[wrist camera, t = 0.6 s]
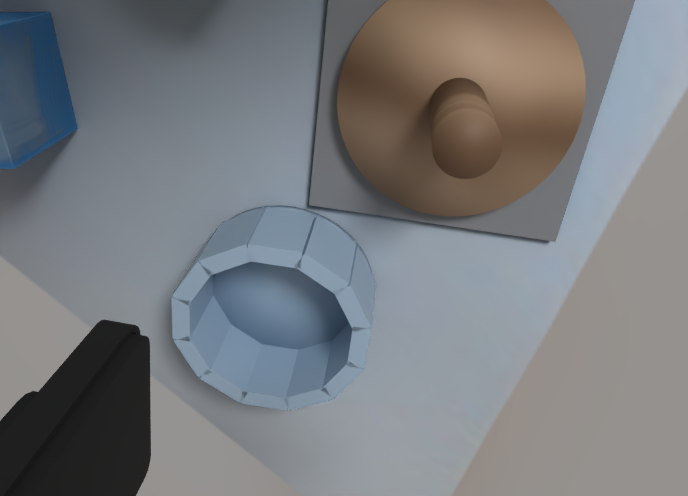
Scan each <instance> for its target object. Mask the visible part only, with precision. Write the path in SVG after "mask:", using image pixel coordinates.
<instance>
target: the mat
mask: <svg viewBox="0 0 688 496" xmlns="http://www.w3.org/2000/svg"><path fill="white" fill-rule="evenodd" d="M385 1H387V0H328V8H327V19H326V30H325V40H324V51H323V61H322V72H321V83H320V93H319V104H318V114H317V125H316V136H315V146H314V157H313V167H312V178H311V189H310V199H309V205H311V206H318V207H325V208H332V209H338V210H345V211H352V212H358V213H365V214H372V215H379V216H385V217H392V218H399V219H406V220H412V221H419V222H426V223H432V224H439V225H446V226H453V227H459V228H466V229H473V230H480V231H486V232H493V233H500V234H506V235H513V236H520V237H527V238H533V239H540V240H547V241H554V242H555V241H556V238H557V235H558V232H559V229H560V226H561V223H562V220H563V217H564V214H565V211H566V208H567V205H568V202H569V199H570V196H571V193H572V190H573V186H574V183H575V180H576V177H577V174H578V171H579V168H580V165H581V162H582V159H583V156H584V153H585V150H586V147H587V144H588V141H589V138H590V135H591V132H592V129H593V126H594V123H595V120H596V117H597V114H598V111H599V108H600V105H601V102H602V99H603V96H604V93H605V90H606V86H607V83H608V80H609V77H610V74H611V71H612V68H613V65H614V62H615V59H616V56H617V53H618V50H619V47H620V44H621V41H622V38H623V35H624V32H625V29H626V26H627V23H628V20H629V17H630V14H631V11H632V8H633V5H634V2H635V0H546V1H547V2H549V3H550V4H551V5H552V6H553V8H554V9H555V10H556V11H557V12H558V13H559V14H560V15H561V16H562V18H563V19H564V21H565V22H566V23H567V25H568V26H569V28H570V29H571V31H572V33H573V35H574V37H575V39H576V41H577V44H578V47H579V50H580V53H581V56H582V59H583V65H584V71H585V82H586V94H585V104H584V110H583V114H582V118H581V122H580V125H579V128H578V131H577V133H576V136H575V138H574V140H573V142H572V144H571V146H570V148H569V150H568V151H567V153H566V155H565V156H564V157H563V159H562V160H561V162H560V163H559V165H558V166H557V167H556V168H555V169H554V170H553V172H552V173H551V174H550V175H549V176H548V177H547V178H546V179H545V180H544V181H543V182H541V183H540V184H539V185H538V186H537V187H536V188H535V189H533V190H532V191H530V192H529V193H527V194H526V195H524V196H523V197H521V198H519V199H518V200H516V201H514V202H512V203H510V204H508V205H506V206H503V207H500V208H498V209H495V210H492V211H488V212H485V213H481V214H475V215H468V216H439V215H432V214H427V213H422V212H419V211H416V210H413V209H410V208H407V207H405V206H403V205H401V204H399V203H397V202H395V201H393V200H392V199H390V198H388V197H387V196H385V195H384V194H382V193H381V192H380V191H379V190H378V189H376V188H375V187H374V186H373V185H372V184H371V183H370V182H369V181H368V180H367V179H366V178H365V177H364V176H363V175H362V173H361V172H360V170H359V169H358V168H357V166H356V165H355V163H354V162H353V160H352V158H351V156H350V154H349V152H348V150H347V148H346V146H345V143H344V140H343V137H342V134H341V130H340V125H339V121H338V111H337V94H338V85H339V79H340V74H341V70H342V67H343V64H344V61H345V58H346V56H347V53H348V51H349V49H350V47H351V45H352V43H353V41H354V39H355V37H356V36H357V34H358V33H359V31H360V29H361V28H362V26H363V25H364V24H365V22H366V21H367V20H368V19H369V18H370V16H371V15H372V14H373V13H374V12H375V11H376V10H377V9H378V8H379V7H380V6H381V5H382V4H383V3H384V2H385Z"/></svg>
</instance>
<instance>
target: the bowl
mask: <svg viewBox="0 0 688 496" xmlns="http://www.w3.org/2000/svg"><path fill="white" fill-rule="evenodd" d="M375 289H376V282H375V280H374V278H373V275H372V271H371V268H370V265H369V262H368V260H367V258H366V256H365V254H364V252H363V251H362V249H361V248H360V246H359V245H358V244H357V242H356V241H355V240H354V239H353V238H352V237H351V236H350V235H349V234H348V233H347V232H346V231H345V230H344V229H342V228H341V227H340V226H339V225H337V224H336V223H334V222H332V221H331V220H329V219H328V218H325V217H323V216H321V215H319V214H317V213H314V212H311V211H308V210H305V209H301V208H296V207H290V206H265V207H259V208H255V209H251V210H248V211H245V212H243V213H240V214H238V215H236V216H234V217H233V218H231V219H229V220H228V221H225V222H223V223H222V224H220V226H219V227H218V229H217V230H216V231H215V233H214V234H213V235H212V236H211V238H210V240H209V241H208V242H207V244H206V245H205V247H204V248H203V249H202V251H201V252H200V253H199V255H198V256H197V258H196V259H195V261H194V263H193V264H192V266H191V267H190V269H189V270H188V272H187V273H186V275H185V277H184V278H183V280H182V281H181V283H180V284H179V286H178V287H177V289H176V291H175V292H174V294H173V295H172V298H171V304H172V333H173V339H174V342H175V344H176V345H177V347H178V348H179V350H180V351H181V353H182V354H183V356H184V357H185V359H186V360H187V362H188V363H189V365H190V366H191V368H192V369H193V371H194V372H195V374H196V375H197V377H200V379H201V380H203V381H204V382H206V383H208V384H209V385H211V386H213V387H214V388H216V389H218V390H219V391H221V392H223V393H224V394H226V395H227V396H229V397H231V398H232V399H234V400H236V401H237V402H240V401H241V400H242V404H248V405H254V406H260V407H267V408H273V409H279V410H285V411H288V408H289V410H290V411H291V410H295V409H299V408H303V407H307V406H311V405H314V404H318V403H322V402H326V401H330V400H333V398H334V399H335V398H336V397H337V396H338V395H339V394H340V393H341V392H342V391H343V390H344V389H345V388H346V387H347V386H348V385H349V384H350V383H351V382H352V381H354V380H355V379H356V378H357V377H358V376H359V375H360V374H361V373H362V372H363V371H364V369H365V364H366V358H367V352H368V346H369V340H370V334H371V328H372V318H373V309H374V299H375Z"/></svg>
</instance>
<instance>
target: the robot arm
mask: <svg viewBox="0 0 688 496" xmlns="http://www.w3.org/2000/svg"><path fill="white" fill-rule="evenodd" d="M150 434H151V431H150V343H149V338H148V337H147V336H142V335H140V330H139V327H138V326H136V325H131V324H125V323H120V322H114V321H108V320H101V321H100V322H99V323H97V324H96V326H95V327H94V328H93V329H92V330H91V332H90V333H89V334H88V335H87V336H86V337H85V338H84V340H83V341H82V342H81V343H80V344H79V345H78V346H77V348H76V349H75V350H74V351H73V352H72V353H71V355H70V356H69V357H68V358H67V359H66V361H65V362H64V363H63V364H62V365H61V366H60V367H59V369H58V370H57V371H56V372H55V373H54V374H53V375H52V377H51V378H50V379H49V380H48V381H47V383H46V384H45V385H44V386H43V387H42V388H41V389H40V391H39V392H35V391H32V392H30V393H27V394H25V395H24V396H23V397H22V398H21V399H20V400H19V401H18V402H17V403H16V404H15V405H14V406H13V407H12V409H11V410H10V411H9V412H8V413H7V414H6V415H5V416H4V417H3V418H2V420H1V421H0V496H136V494H137V492H138V490H139V488H140V486H141V484H142V482H143V480H144V478H145V476H146V473H147V471H148V467H149V463H150V456H151V438H150V437H151V435H150Z"/></svg>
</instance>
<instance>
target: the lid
mask: <svg viewBox="0 0 688 496" xmlns="http://www.w3.org/2000/svg"><path fill="white" fill-rule="evenodd" d="M585 94H586V82H585V71H584V65H583V59H582V56H581V53H580V50H579V47H578V44H577V41H576V39H575V37H574V35H573V33H572V31H571V29H570V28H569V26H568V25H567V23H566V22H565V21H564V19H563V18H562V16H561V15H560V14H559V13H558V12H557V11H556V10H555V9H554V8H553V6H552V5H551V4H550V3H549V2H547V1H546V0H387V1H385V2H384V3H383V4H382V5H381V6H380V7H379V8H378V9H377V10H376V11H375V12H374V13H373V14H372V15H371V16H370V18H369V19H368V20H367V21H366V22H365V24H364V25H363V26H362V28H361V29H360V31H359V33H358V34H357V36H356V37H355V39H354V41H353V43H352V45H351V47H350V49H349V51H348V53H347V56H346V58H345V61H344V64H343V67H342V70H341V74H340V79H339V85H338V94H337V111H338V121H339V125H340V130H341V134H342V137H343V140H344V143H345V146H346V148H347V150H348V152H349V154H350V156H351V158H352V160H353V162H354V163H355V165H356V166H357V168H358V169H359V170H360V172H361V173H362V175H363V176H364V177H365V178H366V179H367V180H368V181H369V182H370V183H371V184H372V185H373V186H374V187H375V188H376V189H378V190H379V191H380V192H381V193H382V194H384V195H385V196H387V197H388V198H390V199H392V200H393V201H395V202H397V203H399V204H401V205H403V206H405V207H407V208H410V209H413V210H416V211H419V212H422V213H427V214H432V215H439V216H468V215H475V214H481V213H485V212H488V211H492V210H495V209H498V208H500V207H503V206H506V205H508V204H510V203H512V202H514V201H516V200H518V199H519V198H521V197H523V196H524V195H526V194H527V193H529V192H530V191H532V190H533V189H535V188H536V187H537V186H538V185H539V184H540V183H541V182H543V181H544V180H545V179H546V178H547V177H548V176H549V175H550V174H551V173H552V172H553V170H554V169H555V168H556V167H557V166H558V165H559V163H560V162H561V160H562V159H563V157H564V156H565V155H566V153H567V151H568V150H569V148H570V146H571V144H572V142H573V140H574V138H575V136H576V133H577V131H578V128H579V125H580V122H581V118H582V114H583V110H584V104H585Z"/></svg>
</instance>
